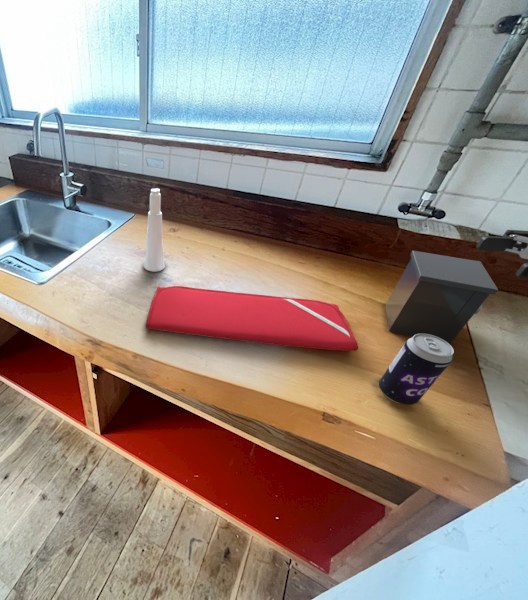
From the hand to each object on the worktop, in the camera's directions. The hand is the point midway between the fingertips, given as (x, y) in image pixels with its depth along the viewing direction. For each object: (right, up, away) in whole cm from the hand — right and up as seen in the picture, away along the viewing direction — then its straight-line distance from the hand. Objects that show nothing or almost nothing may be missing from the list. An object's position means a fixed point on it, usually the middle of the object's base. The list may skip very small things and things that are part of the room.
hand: (499, 255), depth 49 cm
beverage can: (-10, -23, +7) cm, 26 cm away
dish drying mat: (-31, -12, +23) cm, 41 cm away
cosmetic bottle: (-49, +3, +44) cm, 66 cm away
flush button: (+10, -9, +15) cm, 20 cm away
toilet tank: (+6, -12, +21) cm, 24 cm away
